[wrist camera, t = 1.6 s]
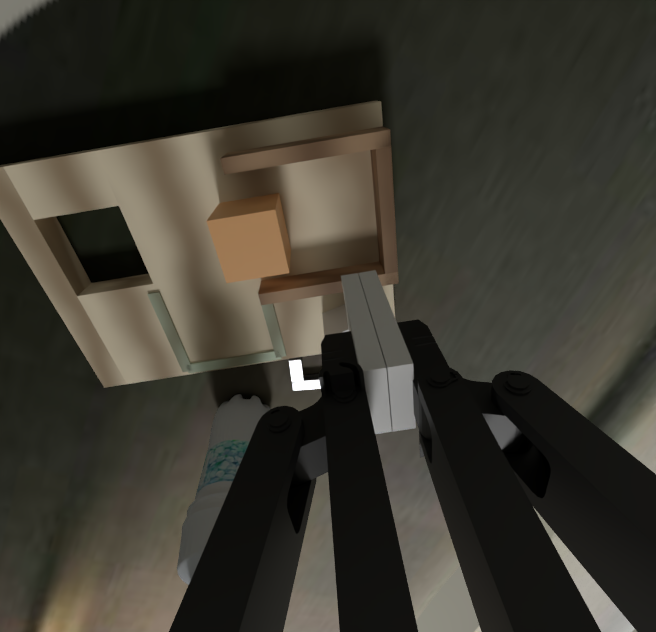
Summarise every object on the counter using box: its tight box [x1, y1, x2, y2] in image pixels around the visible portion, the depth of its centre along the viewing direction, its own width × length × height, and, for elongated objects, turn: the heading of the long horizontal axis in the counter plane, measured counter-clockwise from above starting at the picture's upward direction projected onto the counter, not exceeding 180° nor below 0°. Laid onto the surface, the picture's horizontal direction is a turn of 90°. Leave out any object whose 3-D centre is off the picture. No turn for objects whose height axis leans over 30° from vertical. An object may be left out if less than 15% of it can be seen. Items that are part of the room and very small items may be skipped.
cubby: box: [220, 126, 399, 305], centre depth 28 cm, size 11×11×2 cm
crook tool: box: [289, 357, 321, 391], centre depth 39 cm, size 10×4×1 cm, turn 93°
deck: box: [0, 101, 395, 388], centre depth 32 cm, size 28×20×3 cm
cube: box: [206, 193, 291, 283], centre depth 27 cm, size 4×4×4 cm
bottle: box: [177, 394, 270, 585], centre depth 34 cm, size 7×7×20 cm
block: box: [322, 304, 349, 337], centre depth 32 cm, size 4×4×4 cm
